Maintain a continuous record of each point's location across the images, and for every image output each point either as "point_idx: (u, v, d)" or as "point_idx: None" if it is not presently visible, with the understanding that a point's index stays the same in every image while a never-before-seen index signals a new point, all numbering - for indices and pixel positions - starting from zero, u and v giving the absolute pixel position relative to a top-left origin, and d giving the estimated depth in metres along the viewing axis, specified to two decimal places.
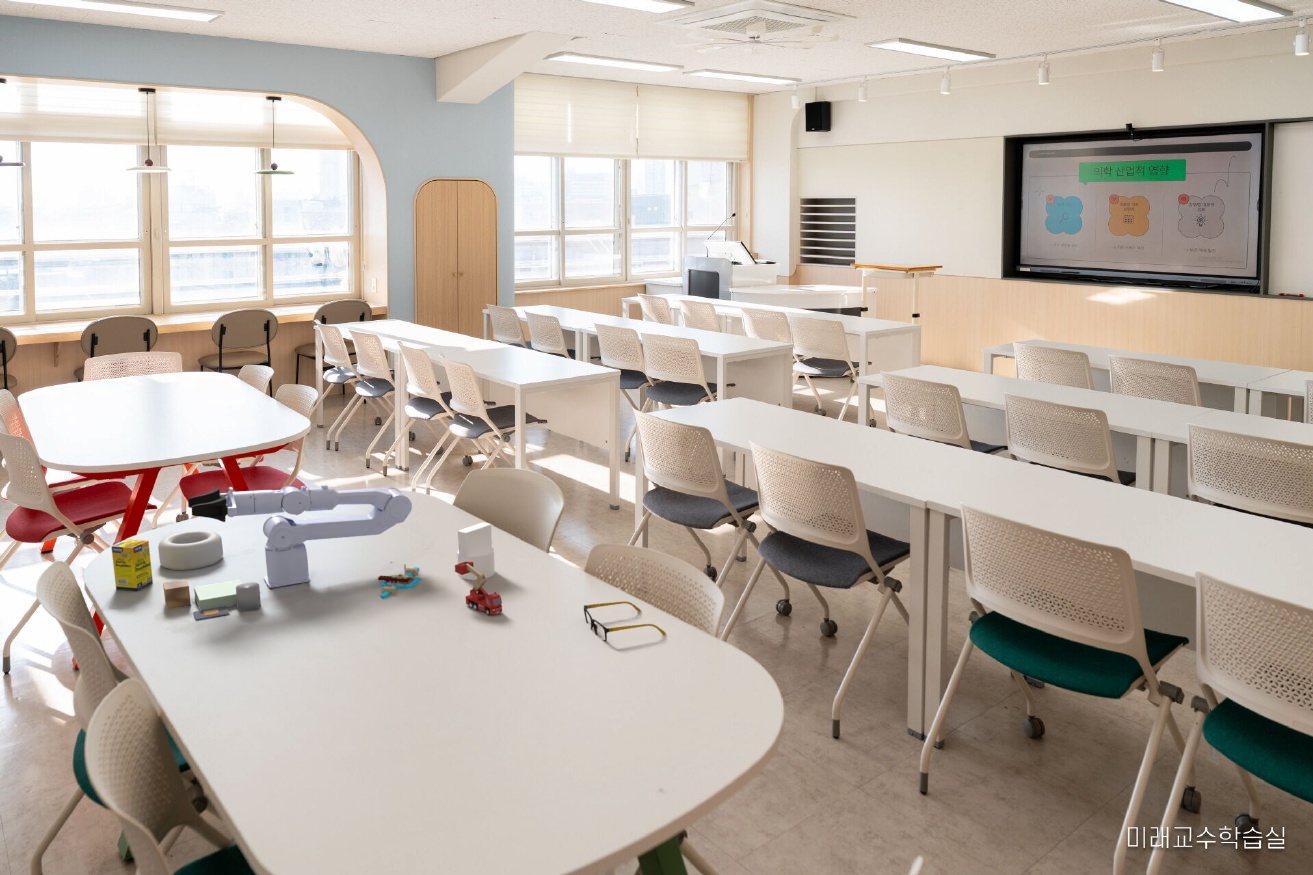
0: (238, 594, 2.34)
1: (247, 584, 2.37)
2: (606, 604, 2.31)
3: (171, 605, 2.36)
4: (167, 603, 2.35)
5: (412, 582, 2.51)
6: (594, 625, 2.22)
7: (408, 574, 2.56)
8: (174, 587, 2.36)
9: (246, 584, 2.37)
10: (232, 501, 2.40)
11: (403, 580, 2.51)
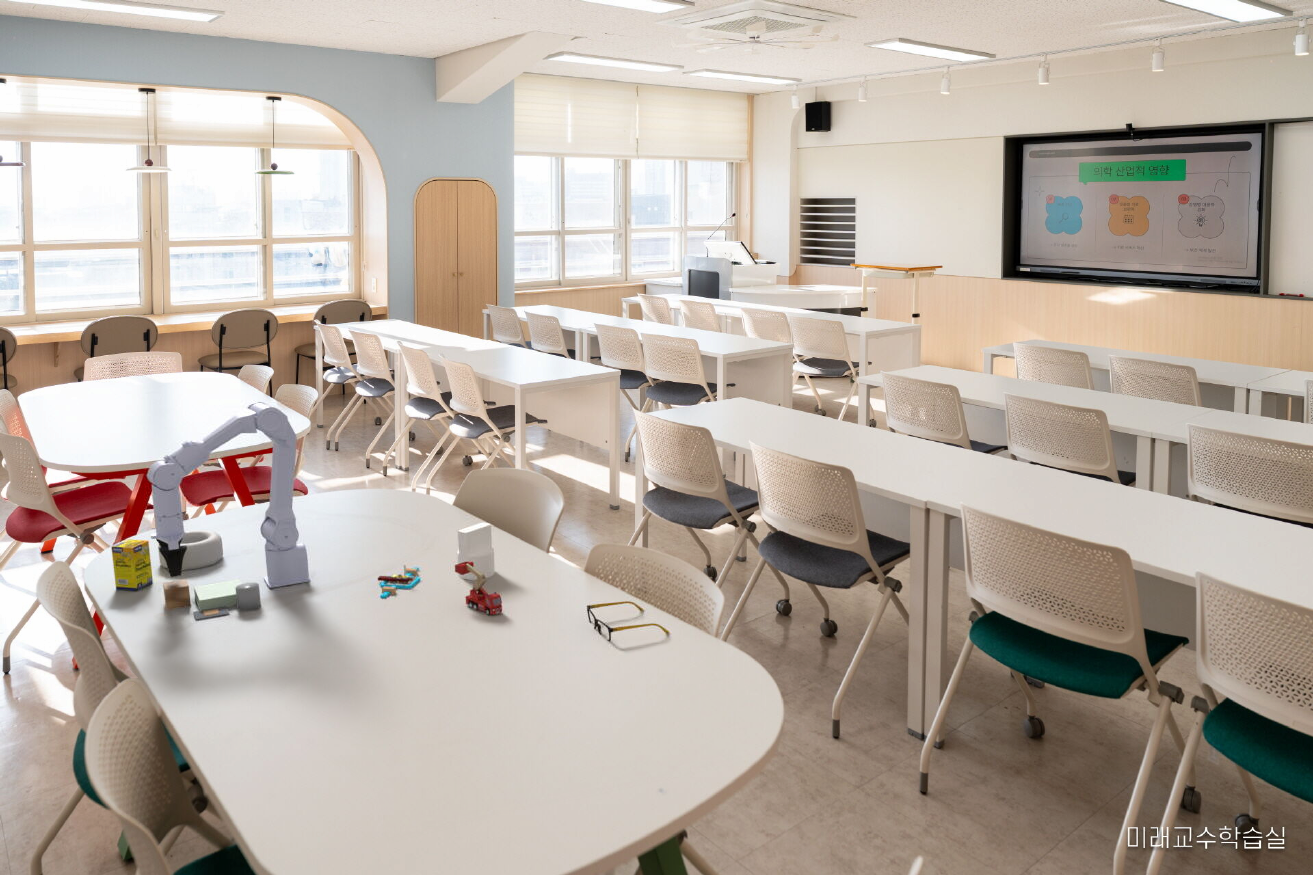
0: (238, 594, 2.34)
1: (247, 584, 2.37)
2: (609, 604, 2.31)
3: (171, 605, 2.36)
4: (167, 603, 2.35)
5: (412, 582, 2.51)
6: (598, 625, 2.22)
7: (408, 574, 2.56)
8: (174, 587, 2.36)
9: (246, 584, 2.37)
10: (163, 540, 2.31)
11: (403, 580, 2.51)
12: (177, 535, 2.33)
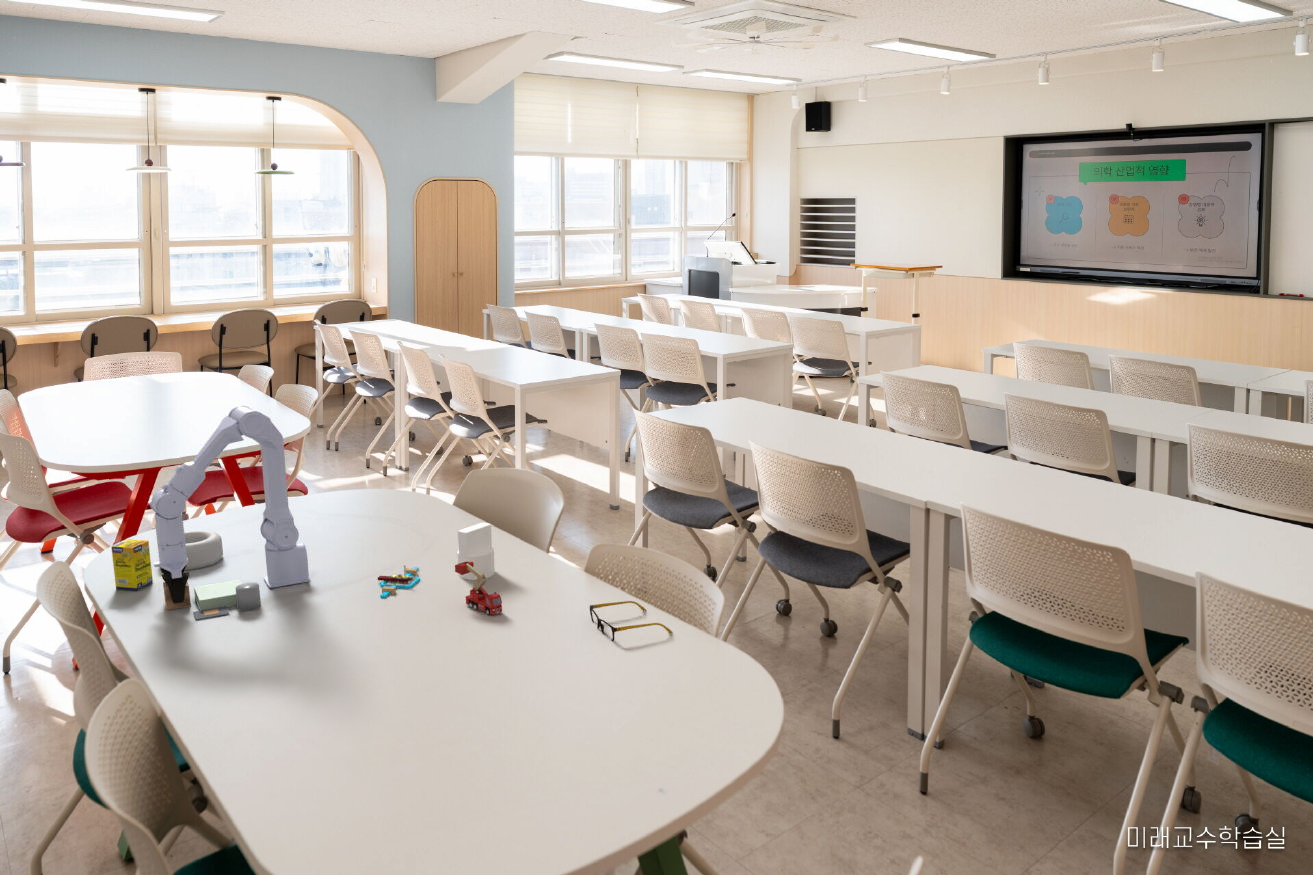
0: (238, 594, 2.34)
1: (247, 584, 2.37)
2: (612, 604, 2.31)
3: (171, 604, 2.36)
4: (167, 603, 2.35)
5: (412, 582, 2.51)
6: (601, 625, 2.22)
7: (408, 574, 2.56)
8: None
9: (246, 584, 2.37)
10: (167, 569, 2.32)
11: (403, 580, 2.51)
12: (180, 563, 2.35)
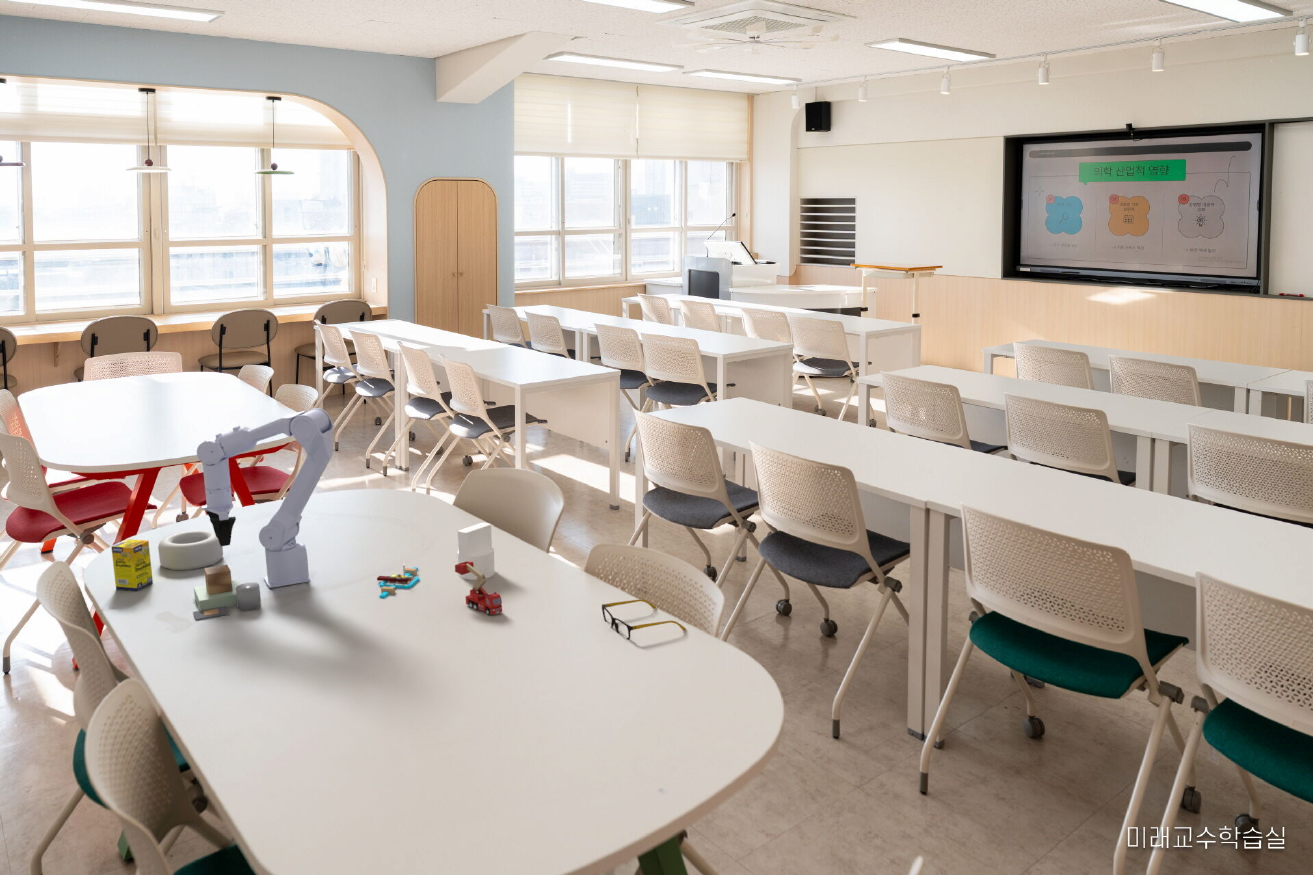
0: (237, 594, 2.34)
1: (248, 584, 2.37)
2: (623, 602, 2.32)
3: (213, 590, 2.38)
4: (209, 588, 2.37)
5: (411, 582, 2.51)
6: (615, 623, 2.23)
7: (407, 574, 2.56)
8: (216, 572, 2.38)
9: (247, 584, 2.37)
10: (214, 512, 2.46)
11: (402, 580, 2.51)
12: (226, 507, 2.49)
